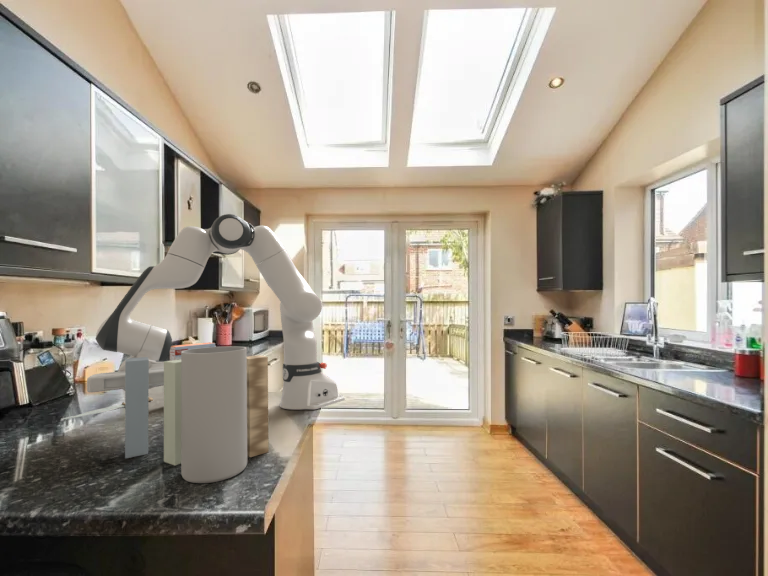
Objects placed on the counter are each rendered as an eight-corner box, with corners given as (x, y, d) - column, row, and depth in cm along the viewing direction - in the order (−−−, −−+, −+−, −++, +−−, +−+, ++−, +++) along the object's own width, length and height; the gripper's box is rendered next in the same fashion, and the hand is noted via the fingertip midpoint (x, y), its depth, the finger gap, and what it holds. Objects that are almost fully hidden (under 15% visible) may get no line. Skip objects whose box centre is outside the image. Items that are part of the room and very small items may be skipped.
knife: (63, 420, 119) (58, 415, 122) (63, 425, 119) (58, 420, 122) (155, 399, 141) (149, 395, 144) (155, 403, 141) (149, 399, 144)
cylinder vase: (178, 490, 72) (178, 355, 73) (183, 465, 83) (183, 348, 84) (249, 477, 77) (248, 350, 78) (245, 455, 88) (244, 345, 89)
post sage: (183, 454, 90) (183, 358, 90) (194, 458, 87) (194, 360, 88) (163, 461, 86) (163, 361, 87) (175, 465, 83) (175, 362, 84)
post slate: (147, 447, 94) (148, 356, 94) (148, 453, 91) (148, 359, 90) (125, 451, 92) (125, 358, 92) (125, 458, 88) (125, 361, 88)
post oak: (260, 447, 93) (259, 355, 94) (268, 451, 90) (267, 356, 91) (241, 452, 90) (241, 357, 91) (249, 457, 87) (249, 358, 88)
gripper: (88, 367, 99) (82, 375, 88) (178, 359, 110) (183, 365, 99) (88, 392, 99) (82, 403, 87) (178, 382, 110) (183, 390, 98)
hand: (136, 383), depth 93 cm, fingers closed
